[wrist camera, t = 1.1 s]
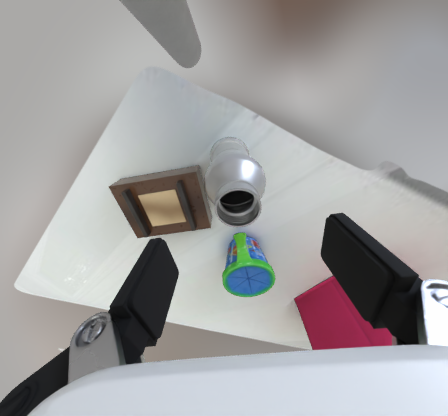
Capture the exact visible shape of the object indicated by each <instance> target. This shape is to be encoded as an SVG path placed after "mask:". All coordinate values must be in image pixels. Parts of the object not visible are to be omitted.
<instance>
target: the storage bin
mask: <svg viewBox="0 0 448 416" xmlns="http://www.w3.org/2000/svg"><path fill="white" fill-rule="evenodd" d="M294 300H295V302H296V304H297V307H298V310H299V312H300V315H301V318H302V321H303V324H304V326H305V329H306V332H307V335H308V338H309V340H310V343H311V346H312V349H313V350H324V349H340V348H356V347H373V346H392V334H391V333H390V332H389V331H388V329H387V328H381V329H373V327H372V326H371V325H370V323H369V322H368V321H365V320H364V319H363V318H362V317H361V315H360V314H359V312H358V311H357V309H356V308H355V306H354V305H353V303H352V302H351V300H350V299H349V297H348V296H347V295H346V293H345V292H344V290H343V289H342V287H341V286H340V284H339V283H338V281H337V280H336V278H335V277H334V276H332V277H330V278H329V279H327V280H325V281H324V282H322V283H320V284H318V285H317V286H315V287H313V288H311V289H310V290H308V291H306V292H305V293H303V294H302V295H300V296H298V297H296V298H295V299H294Z"/></svg>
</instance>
